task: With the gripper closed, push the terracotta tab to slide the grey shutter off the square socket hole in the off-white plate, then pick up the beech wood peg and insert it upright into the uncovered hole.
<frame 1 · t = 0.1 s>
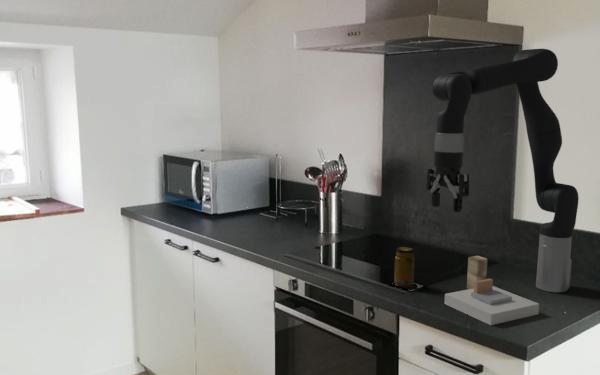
hand: (446, 209, 163), 29 cm above the worktop, fingers open, 8 cm apart
condiment: (405, 286, 189), on the worktop
peg: (476, 288, 187), on the worktop
shutter: (491, 290, 169), point 5 cm above the worktop, slide at 0.0 cm
socket plate: (490, 308, 170), on the worktop
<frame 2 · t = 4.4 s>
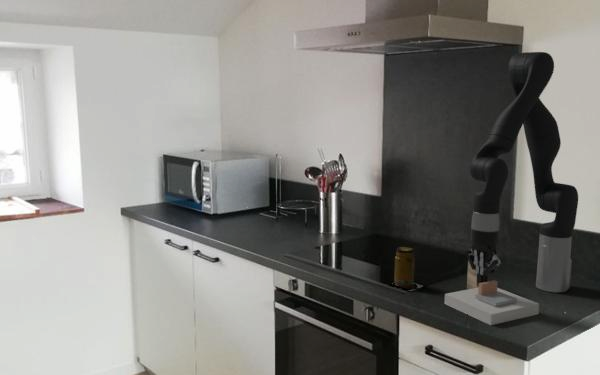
hand: (481, 286, 172), 6 cm above the worktop, fingers closed
shutter: (496, 292, 167), point 5 cm above the worktop, slide at 1.8 cm, touching gripper
everything else where it was.
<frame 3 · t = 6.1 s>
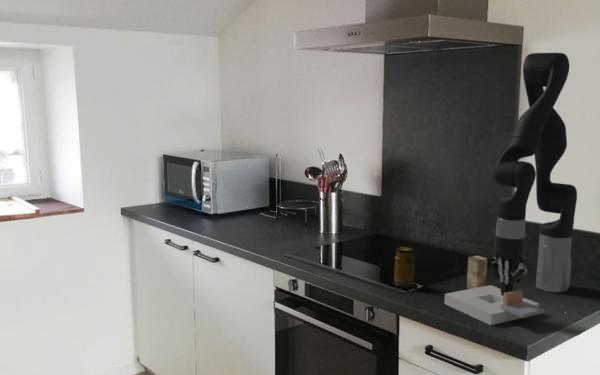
hand: (506, 295, 164), 6 cm above the worktop, fingers closed
shutter: (522, 303, 159), point 5 cm above the worktop, slide at 11.0 cm, touching gripper
everything else where it was.
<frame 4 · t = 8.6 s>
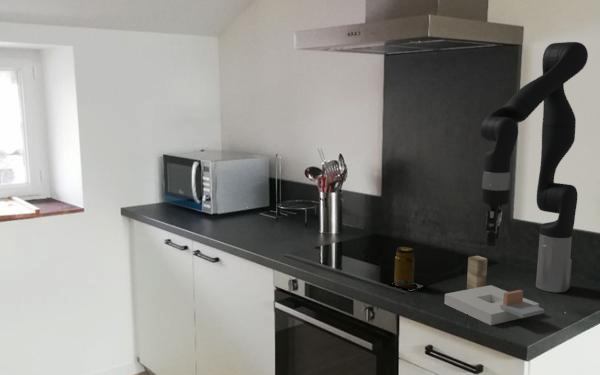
hand: (492, 241, 174), 18 cm above the worktop, fingers open, 8 cm apart
shutter: (522, 303, 159), point 5 cm above the worktop, slide at 11.0 cm
everything else where it was.
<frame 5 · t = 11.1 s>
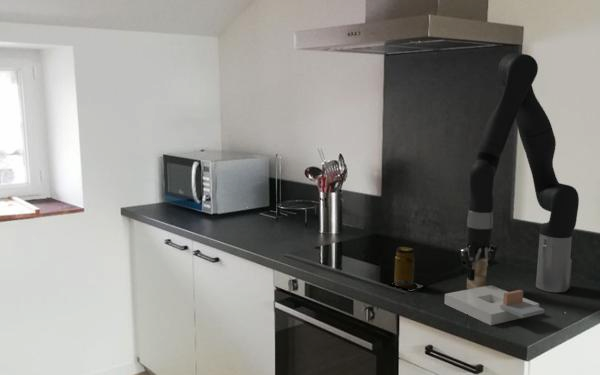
hand: (476, 278, 186), 3 cm above the worktop, fingers closed on peg, 4 cm apart
peg: (475, 288, 187), on the worktop, touching gripper
everything else where it was.
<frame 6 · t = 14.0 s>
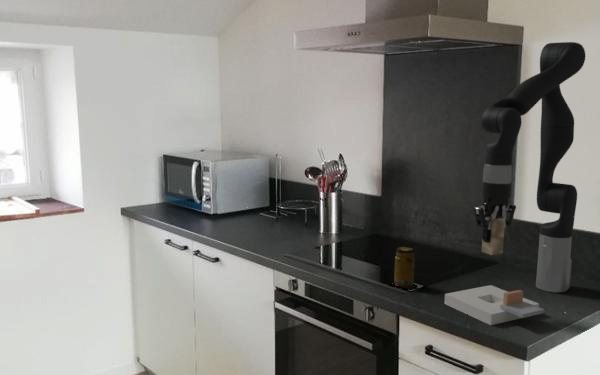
hand: (492, 241, 167), 20 cm above the worktop, fingers closed on peg, 4 cm apart
peg: (492, 252, 168), point 16 cm above the worktop, touching gripper
everything else where it was.
when the fingers open (4 cm above the worktop, at t = 16.7 s): peg stays where it is, resting in socket plate.
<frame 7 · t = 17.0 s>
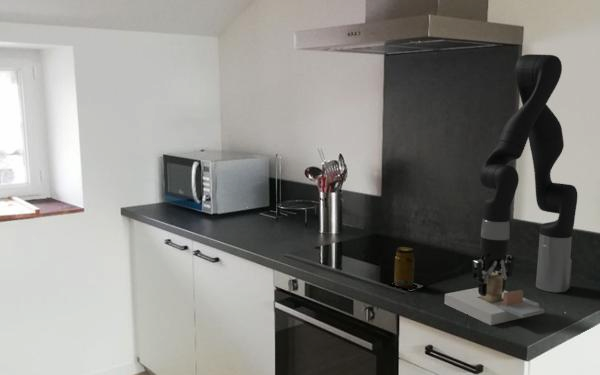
hand: (491, 293, 169), 5 cm above the worktop, fingers open, 6 cm apart
peg: (490, 308, 170), resting in socket plate
everything else where it was.
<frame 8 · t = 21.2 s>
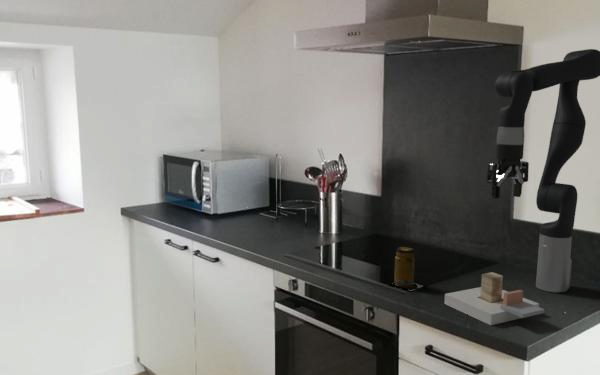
hand: (506, 197, 176), 30 cm above the worktop, fingers open, 8 cm apart
nothing on the worktop moved.
at the end: peg 0.1 cm off-centre on the socket plate, point 0.0 cm above the socket plate's base; peg tilted 0°; shutter slide at 11.0 cm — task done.
